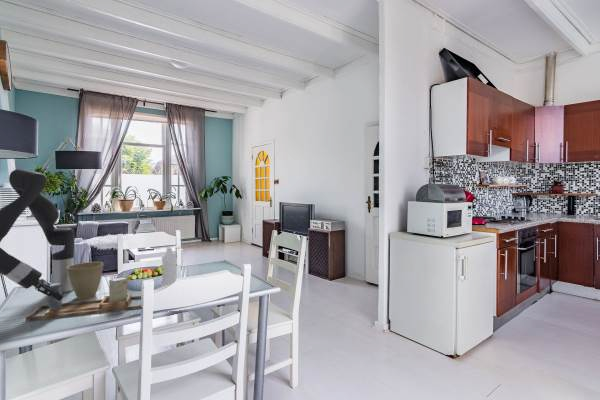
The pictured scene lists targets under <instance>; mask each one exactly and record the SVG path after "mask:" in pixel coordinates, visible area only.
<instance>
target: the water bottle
mask: <svg viewBox="0 0 600 400" xmlns="http://www.w3.org/2000/svg"><path fill="white" fill-rule="evenodd" d="M173 249H175V250H177V249H180V246H178V245H176V246H174V247H173V248H172V247H167V248H166V251H165V253H164V254H163V256H162V258H161V261H162V266H161V267H162V269H161V270H162V278H161V279H162V282H161V283H162V287H163V286H165V285H168V284H170V283H172V282H173V281H175V280H176V279H177V276H178V275H177V255H176V254H175V253H174V250H173ZM176 281H177V280H176Z"/></svg>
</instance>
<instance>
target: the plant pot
mask: <svg viewBox="0 0 600 400" xmlns="http://www.w3.org/2000/svg"><path fill="white" fill-rule="evenodd" d="M103 268H104V263H103V262H102V261H89V262H81V263H74V265H71V266H68V267H67V270H68V275H69V278H70V282H71V285H72V287H73V290H72V291H73V292H74V294H75V296H76V298H77V299H78V300H87V299H91V298H93V297H95V296H96V295H97V292H98V290H99V286H100V283H101V279H102V274H103V270H104V269H103Z"/></svg>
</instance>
